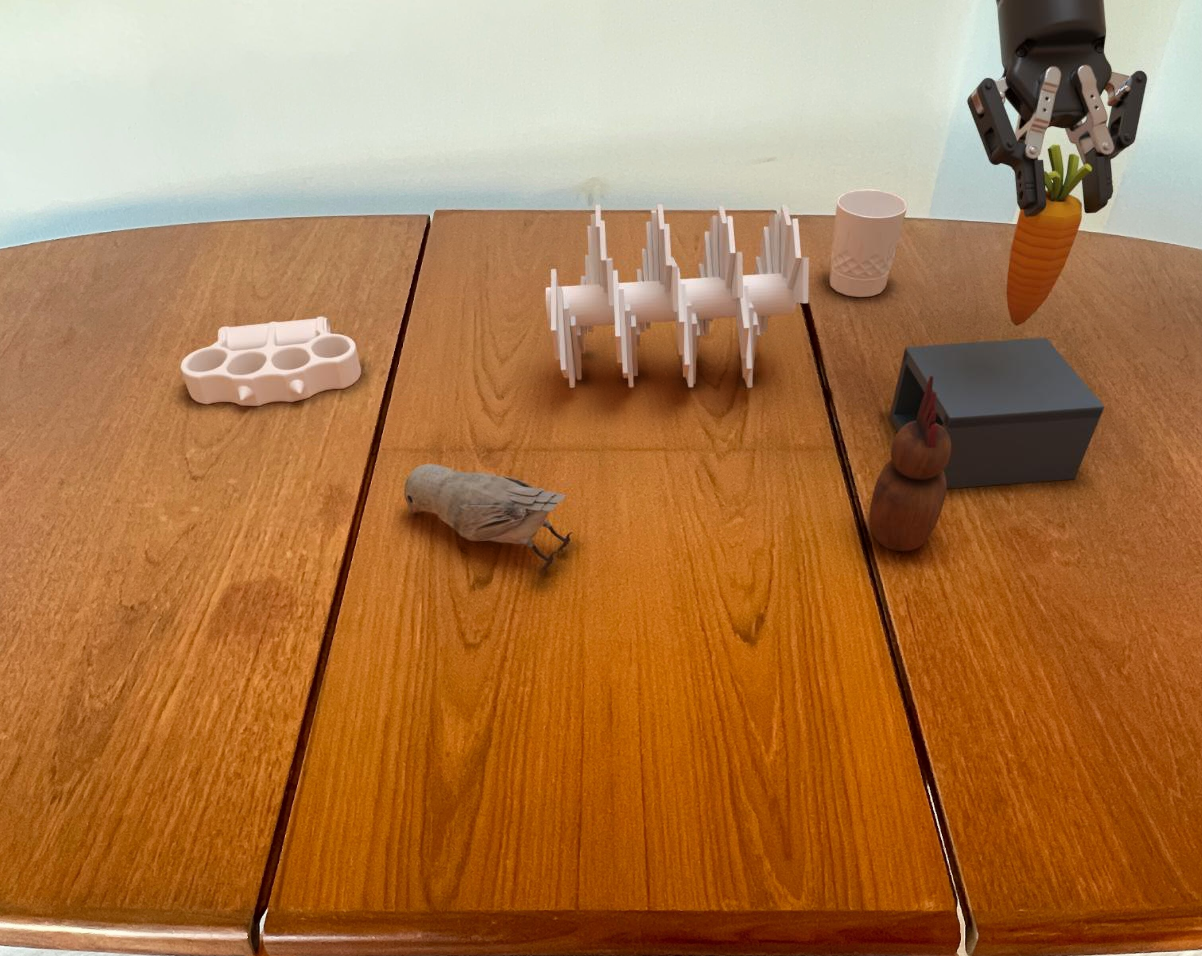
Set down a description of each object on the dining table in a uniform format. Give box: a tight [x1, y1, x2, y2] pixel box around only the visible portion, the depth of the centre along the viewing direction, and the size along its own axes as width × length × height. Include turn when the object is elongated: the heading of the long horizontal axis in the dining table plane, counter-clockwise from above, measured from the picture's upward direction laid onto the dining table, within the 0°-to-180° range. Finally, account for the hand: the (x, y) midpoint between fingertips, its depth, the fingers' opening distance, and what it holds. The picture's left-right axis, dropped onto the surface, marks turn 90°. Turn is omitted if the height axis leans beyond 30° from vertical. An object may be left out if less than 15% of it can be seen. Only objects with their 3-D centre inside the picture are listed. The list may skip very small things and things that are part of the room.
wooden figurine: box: [869, 376, 951, 552], centre depth 81 cm, size 7×6×15 cm
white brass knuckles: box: [180, 316, 362, 407], centre depth 105 cm, size 3×18×15 cm
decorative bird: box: [403, 463, 574, 576], centre depth 84 cm, size 5×16×8 cm, turn 62°
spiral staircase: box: [545, 203, 810, 389], centre depth 99 cm, size 18×18×25 cm
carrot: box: [1006, 144, 1092, 327], centre depth 81 cm, size 5×5×15 cm
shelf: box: [888, 337, 1105, 490], centre depth 92 cm, size 14×12×8 cm
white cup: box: [828, 188, 908, 298], centre depth 116 cm, size 8×8×10 cm
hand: (1066, 210), depth 77 cm, fingers closed on carrot, 4 cm apart
